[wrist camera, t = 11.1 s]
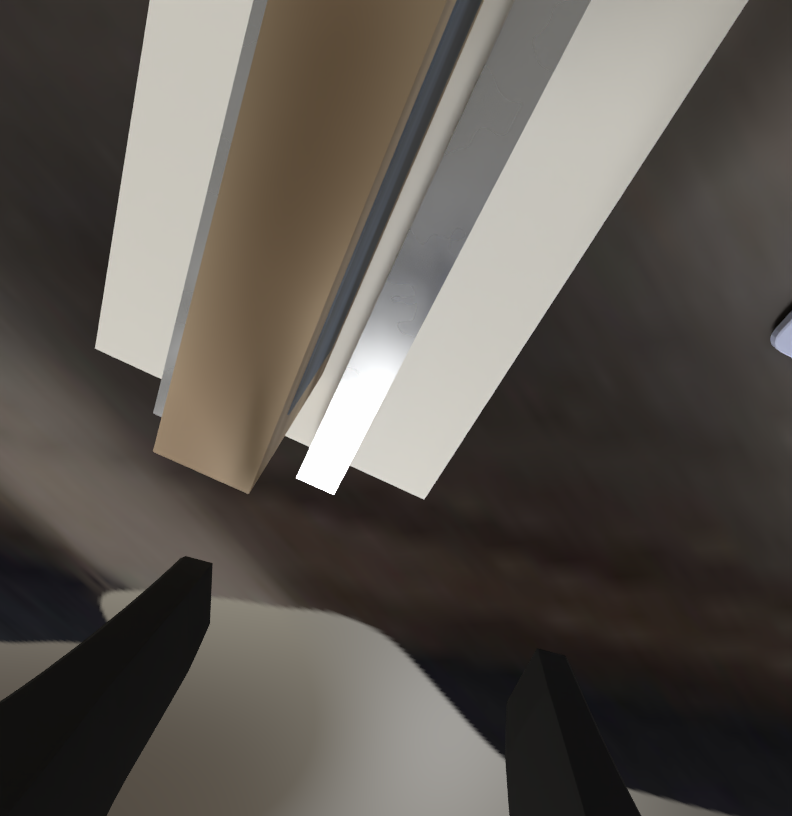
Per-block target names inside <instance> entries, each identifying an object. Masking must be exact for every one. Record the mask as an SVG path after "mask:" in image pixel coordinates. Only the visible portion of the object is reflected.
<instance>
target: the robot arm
mask: <svg viewBox="0 0 792 816" xmlns="http://www.w3.org/2000/svg"><path fill="white" fill-rule="evenodd" d="M770 340H771V344H772V345H773V346H774V347H775V348H776V349H777V350H779V351H780V352H782V353H784V354H786V355H788V356H789V357H791V358H792V311H791V312H790V313H789V314H788V315H787V316H786V317H785V319H784V320H783V321H782V322H781V323H780V324H779V325H778V326H777V327H776V328H775V330H774V331H773V333H772V334H771V339H770ZM211 585H212V563H210V562H206V561H202V560H198V559H194V558H191V557H187V556H185V557H183V558H180V559H179V560H178V561H177V562H176V563H175V564H174V565H173V566H172V567H171V568H170V569H169V570H167V571H166V572H165V573H164V574H163V575H162V576H161V577H160V578H159V579H157V580H156V581H155V582H154V583H153V584H152V585H151V586H150V587H148V588H147V589H146V590H145V591H144V592H143V593H142V594H140V595H139V596H138V597H137V598H136V599H135V600H133V601H132V602H131V603H130V604H129V605H128V606H126V608H124V609H123V610H122V611H120V612H119V613H118V614H117V615H115V616H114V617H113V618H112V619H111V620H109V621H108V622H107V623H106V624H104V625H103V626H102V627H101V628H99V629H98V630H97V631H96V632H95V633H93V634H92V635H91V636H90V637H88V638H87V639H86V640H84V641H83V642H82V643H81V644H79V645H78V646H77V647H75V648H74V649H73V650H71V651H70V652H69V653H67V654H66V655H65V656H63V657H62V658H61V659H59V660H58V661H57V662H55V663H54V664H53V665H51V666H50V667H49V668H48V669H46V670H45V671H44V672H42V673H41V674H39V675H38V676H36V677H35V678H34V679H32V680H31V681H29V682H28V683H26V684H25V685H24V686H22V687H21V688H19V689H18V690H16V691H15V692H14V693H12V694H11V695H9V696H8V697H6V698H5V699H3V700H2V701H0V816H107V814H108V812H109V810H110V808H111V806H112V804H113V802H114V800H115V798H116V796H117V794H118V793H119V791H120V789H121V787H122V785H123V783H124V781H125V780H126V778H127V776H128V775H129V773H130V771H131V769H132V768H133V766H134V764H135V762H136V761H137V759H138V757H139V756H140V754H141V752H142V750H143V749H144V747H145V745H146V744H147V742H148V740H149V738H150V737H151V735H152V733H153V732H154V730H155V728H156V726H157V725H158V723H159V721H160V720H161V718H162V716H163V714H164V713H165V711H166V709H167V707H168V706H169V704H170V702H171V701H172V699H173V697H174V695H175V694H176V692H177V690H178V688H179V686H180V685H181V683H182V681H183V680H184V678H185V676H186V674H187V673H188V671H189V668H190V667H191V664H192V662H193V660H194V658H195V656H196V654H197V651H198V649H199V647H200V645H201V642H202V640H203V638H204V635H205V633H206V631H207V629H208V626H209V624H210V608H211V606H210V605H211ZM505 759H506V774H507V788H508V802H509V815H510V816H641V815H640V813H639V811H638V809H637V807H636V805H635V803H634V801H633V799H632V797H631V795H630V793H629V791H628V789H627V788H626V786H625V783H624V781H623V779H622V777H621V775H620V773H619V771H618V769H617V767H616V765H615V763H614V761H613V759H612V757H611V755H610V753H609V751H608V749H607V747H606V745H605V742H604V740H603V738H602V736H601V734H600V732H599V730H598V727H597V725H596V723H595V721H594V719H593V716H592V714H591V712H590V710H589V708H588V705H587V703H586V701H585V699H584V696H583V694H582V692H581V689H580V687H579V685H578V683H577V680H576V678H575V676H574V673H573V671H572V669H571V666H570V664H569V662H568V660H567V658H566V656H564V655H561V654H557V653H553V652H549V651H545V650H541V649H538V648H537V650H536V651H535V653H534V655H533V657H532V658H531V660H530V662H529V664H528V666H527V667H526V669H525V671H524V673H523V674H522V676H521V678H520V680H519V681H518V683H517V685H516V687H515V689H514V690H513V692H512V694H511V696H510V697H509V699H508V701H507V711H506V741H505Z"/></svg>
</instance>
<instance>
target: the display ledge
mask: <svg viewBox="0 0 792 816" xmlns="http://www.w3.org/2000/svg"><path fill="white" fill-rule="evenodd" d="M267 1H268V0H150V3H149V9H148V16H147V22H146V28H145V35H144V41H143V48H142V54H141V60H140V67H139V73H138V79H137V86H136V92H135V98H134V105H133V111H132V117H131V124H130V130H129V137H128V143H127V149H126V156H125V162H124V168H123V175H122V181H121V187H120V194H119V200H118V207H117V213H116V219H115V226H114V232H113V238H112V245H111V251H110V257H109V264H108V270H107V276H106V283H105V289H104V296H103V302H102V308H101V315H100V321H99V327H98V334H97V340H96V346H95V349H97V350H99V351H102V352H104V353H106V354H108V355H110V356H112V357H115V358H117V359H119V360H121V361H123V362H126V363H128V364H130V365H132V366H134V367H136V368H139V369H141V370H143V371H145V372H147V373H150V374H152V375H154V376H156V377H158V378H160V379H161V384H160V388H159V392H158V396H157V400H156V404H155V408H154V412H153V413H154V414H156V415H158V416H160V417H162V414H163V410H164V406H165V403H166V399H167V395H168V391H169V387H170V383H171V379H172V375H173V371H174V367H175V363H176V359H177V355H178V351H179V347H180V343H181V340H182V336H183V332H184V328H185V324H186V320H187V316H188V312H189V308H190V304H191V300H192V296H193V292H194V288H195V284H196V280H197V276H198V273H199V269H200V265H201V261H202V257H203V253H204V249H205V245H206V241H207V237H208V233H209V229H210V225H211V221H212V217H213V213H214V209H215V206H216V202H217V198H218V194H219V190H220V186H221V182H222V178H223V174H224V170H225V166H226V162H227V158H228V154H229V150H230V146H231V143H232V139H233V135H234V131H235V127H236V123H237V119H238V115H239V111H240V107H241V103H242V99H243V95H244V91H245V87H246V83H247V79H248V76H249V72H250V68H251V64H252V60H253V56H254V52H255V48H256V44H257V40H258V36H259V32H260V28H261V24H262V20H263V16H264V12H265V9H266V5H267ZM747 2H748V0H484V2H483V4H482V6H481V9H480V11H479V13H478V16H477V18H476V20H475V23H474V25H473V27H472V30H471V32H470V34H469V37H468V39H467V41H466V43H465V46H464V48H463V50H462V53H461V55H460V57H459V60H458V62H457V64H456V67H455V69H454V71H453V74H452V76H451V78H450V81H449V83H448V85H447V87H446V90H445V92H444V94H443V97H442V99H441V101H440V104H439V106H438V108H437V111H436V113H435V115H434V118H433V120H432V122H431V125H430V127H429V129H428V131H427V134H426V136H425V138H424V141H423V143H422V145H421V148H420V150H419V152H418V155H417V157H416V159H415V162H414V164H413V166H412V168H411V171H410V173H409V175H408V178H407V180H406V182H405V185H404V187H403V189H402V192H401V194H400V196H399V199H398V201H397V203H396V206H395V208H394V210H393V212H392V215H391V217H390V219H389V222H388V224H387V226H386V229H385V231H384V233H383V236H382V238H381V240H380V243H379V245H378V247H377V250H376V252H375V254H374V256H373V259H372V261H371V263H370V266H369V268H368V270H367V273H366V275H365V277H364V280H363V282H362V284H361V287H360V289H359V291H358V294H357V296H356V298H355V300H354V303H353V305H352V307H351V310H350V312H349V314H348V317H347V319H346V321H345V324H344V326H343V328H342V331H341V333H340V335H339V337H338V340H337V342H336V344H335V347H334V349H333V351H332V354H331V356H330V358H329V361H328V363H327V365H326V368H325V370H324V372H323V375H322V376H321V378H320V379H319V381H318V383H317V384H316V386H315V387H314V389H313V391H312V392H311V394H310V396H309V397H308V399H307V400H306V402H305V404H304V405H303V407H302V409H301V410H300V412H299V413H298V415H297V417H296V418H295V420H294V421H293V423H292V425H291V426H290V428H289V430H288V431H287V433H286V434H285V436H287V437H289V438H291V439H293V440H296V441H298V442H300V443H302V444H304V445H307V446H309V447H310V449H309V451H308V453H307V455H306V457H305V460H304V462H303V464H302V466H301V468H300V471H299V473H298V475H297V477H296V478H298V479H300V480H302V481H304V482H307V483H309V484H311V485H313V486H315V487H318V488H320V489H322V490H324V491H326V492H329V493H331V494H333V495H334V493H335V491H336V490H337V488H338V486H339V484H340V482H341V480H342V478H343V476H344V474H345V472H346V470H347V468H348V466H349V465H350V466H352V467H354V468H357V469H359V470H361V471H363V472H365V473H368V474H370V475H372V476H374V477H376V478H378V479H381V480H383V481H385V482H387V483H389V484H392V485H394V486H396V487H398V488H400V489H402V490H405V491H407V492H409V493H411V494H413V495H416V496H418V497H420V498H422V499H425V497H426V496H427V494H428V493H429V491H430V490H431V488H432V487H433V485H434V484H435V482H436V480H437V479H438V477H439V476H440V474H441V473H442V471H443V470H444V468H445V467H446V465H447V463H448V462H449V460H450V459H451V457H452V456H453V454H454V453H455V451H456V450H457V448H458V447H459V445H460V443H461V442H462V440H463V439H464V437H465V436H466V434H467V433H468V431H469V430H470V428H471V427H472V425H473V423H474V422H475V420H476V419H477V417H478V416H479V414H480V413H481V411H482V410H483V408H484V407H485V405H486V403H487V402H488V400H489V399H490V397H491V396H492V394H493V393H494V391H495V390H496V388H497V387H498V385H499V383H500V382H501V380H502V379H503V377H504V376H505V374H506V373H507V371H508V370H509V368H510V367H511V365H512V363H513V362H514V360H515V359H516V357H517V356H518V354H519V353H520V351H521V350H522V348H523V347H524V345H525V343H526V342H527V340H528V339H529V337H530V336H531V334H532V333H533V331H534V330H535V328H536V327H537V325H538V323H539V322H540V320H541V319H542V317H543V316H544V314H545V313H546V311H547V310H548V308H549V307H550V305H551V303H552V302H553V300H554V299H555V297H556V296H557V294H558V293H559V291H560V290H561V288H562V286H563V285H564V283H565V282H566V280H567V279H568V277H569V276H570V274H571V273H572V271H573V270H574V268H575V266H576V265H577V263H578V262H579V260H580V259H581V257H582V256H583V254H584V253H585V251H586V250H587V248H588V246H589V245H590V243H591V242H592V240H593V239H594V237H595V236H596V234H597V233H598V231H599V230H600V228H601V226H602V225H603V223H604V222H605V220H606V219H607V217H608V216H609V214H610V213H611V211H612V210H613V208H614V206H615V205H616V203H617V202H618V200H619V199H620V197H621V196H622V194H623V193H624V191H625V190H626V188H627V186H628V185H629V183H630V182H631V180H632V179H633V177H634V176H635V174H636V173H637V171H638V170H639V168H640V166H641V165H642V163H643V162H644V160H645V159H646V157H647V156H648V154H649V153H650V151H651V150H652V148H653V146H654V145H655V143H656V142H657V140H658V139H659V137H660V136H661V134H662V133H663V131H664V129H665V128H666V126H667V125H668V123H669V122H670V120H671V119H672V117H673V116H674V114H675V113H676V111H677V109H678V108H679V106H680V105H681V103H682V102H683V100H684V99H685V97H686V96H687V94H688V93H689V91H690V89H691V88H692V86H693V85H694V83H695V82H696V80H697V79H698V77H699V76H700V74H701V73H702V71H703V69H704V68H705V66H706V65H707V63H708V62H709V60H710V59H711V57H712V56H713V54H714V53H715V51H716V49H717V48H718V46H719V45H720V43H721V42H722V40H723V39H724V37H725V36H726V34H727V33H728V31H729V29H730V28H731V26H732V25H733V23H734V22H735V20H736V19H737V17H738V16H739V14H740V13H741V11H742V9H743V8H744V6H745V5H746V3H747Z"/></svg>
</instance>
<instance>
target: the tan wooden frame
mask: <svg viewBox="0 0 792 816" xmlns="http://www.w3.org/2000/svg"><path fill="white" fill-rule="evenodd" d="M483 2H484V0H268V1H267V5H266V9H265V12H264V16H263V20H262V24H261V28H260V32H259V36H258V40H257V44H256V48H255V52H254V56H253V60H252V64H251V68H250V72H249V76H248V79H247V83H246V87H245V91H244V95H243V99H242V103H241V107H240V111H239V115H238V119H237V123H236V127H235V131H234V135H233V139H232V143H231V146H230V150H229V154H228V158H227V162H226V166H225V170H224V174H223V178H222V182H221V186H220V190H219V194H218V198H217V202H216V206H215V209H214V213H213V217H212V221H211V225H210V229H209V233H208V237H207V241H206V245H205V249H204V253H203V257H202V261H201V265H200V269H199V273H198V276H197V280H196V284H195V288H194V292H193V296H192V300H191V304H190V308H189V312H188V316H187V320H186V324H185V328H184V332H183V336H182V340H181V343H180V347H179V351H178V355H177V359H176V363H175V367H174V371H173V375H172V379H171V383H170V387H169V391H168V395H167V399H166V403H165V406H164V410H163V414H162V418H161V422H160V426H159V430H158V434H157V438H156V442H155V446H154V450H153V452H155V453H157V454H159V455H162V456H164V457H166V458H168V459H171V460H173V461H175V462H178V463H180V464H182V465H184V466H187V467H189V468H191V469H193V470H196V471H198V472H200V473H202V474H205V475H207V476H209V477H211V478H214V479H216V480H218V481H220V482H223V483H225V484H227V485H229V486H232V487H234V488H236V489H238V490H241V491H243V492H245V493H247V494H249V493H250V491H251V490H252V488H253V486H254V485H255V483H256V481H257V480H258V478H259V477H260V475H261V473H262V472H263V470H264V468H265V467H266V465H267V464H268V462H269V460H270V459H271V457H272V455H273V454H274V452H275V451H276V449H277V447H278V446H279V444H280V443H281V441H282V439H283V438H284V436H285V434H286V433H287V431H288V430H289V428H290V426H291V425H292V423H293V421H294V420H295V418H296V417H297V415H298V413H299V412H300V410H301V409H302V407H303V405H304V404H305V402H306V400H307V399H308V397H309V396H310V394H311V392H312V391H313V389H314V387H315V386H316V384H317V383H318V381H319V379H320V378H321V376H322V375H323V372H324V370H325V368H326V365H327V363H328V361H329V358H330V356H331V354H332V351H333V349H334V347H335V344H336V342H337V340H338V337H339V335H340V333H341V331H342V328H343V326H344V324H345V321H346V319H347V317H348V314H349V312H350V310H351V307H352V305H353V303H354V300H355V298H356V296H357V294H358V291H359V289H360V287H361V284H362V282H363V280H364V277H365V275H366V273H367V270H368V268H369V266H370V263H371V261H372V259H373V256H374V254H375V252H376V250H377V247H378V245H379V243H380V240H381V238H382V236H383V233H384V231H385V229H386V226H387V224H388V222H389V219H390V217H391V215H392V212H393V210H394V208H395V206H396V203H397V201H398V199H399V196H400V194H401V192H402V189H403V187H404V185H405V182H406V180H407V178H408V175H409V173H410V171H411V168H412V166H413V164H414V162H415V159H416V157H417V155H418V152H419V150H420V148H421V145H422V143H423V141H424V138H425V136H426V134H427V131H428V129H429V127H430V125H431V122H432V120H433V118H434V115H435V113H436V111H437V108H438V106H439V104H440V101H441V99H442V97H443V94H444V92H445V90H446V87H447V85H448V83H449V81H450V78H451V76H452V74H453V71H454V69H455V67H456V64H457V62H458V60H459V57H460V55H461V53H462V50H463V48H464V46H465V43H466V41H467V39H468V37H469V34H470V32H471V30H472V27H473V25H474V23H475V20H476V18H477V16H478V13H479V11H480V9H481V6H482V4H483Z"/></svg>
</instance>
